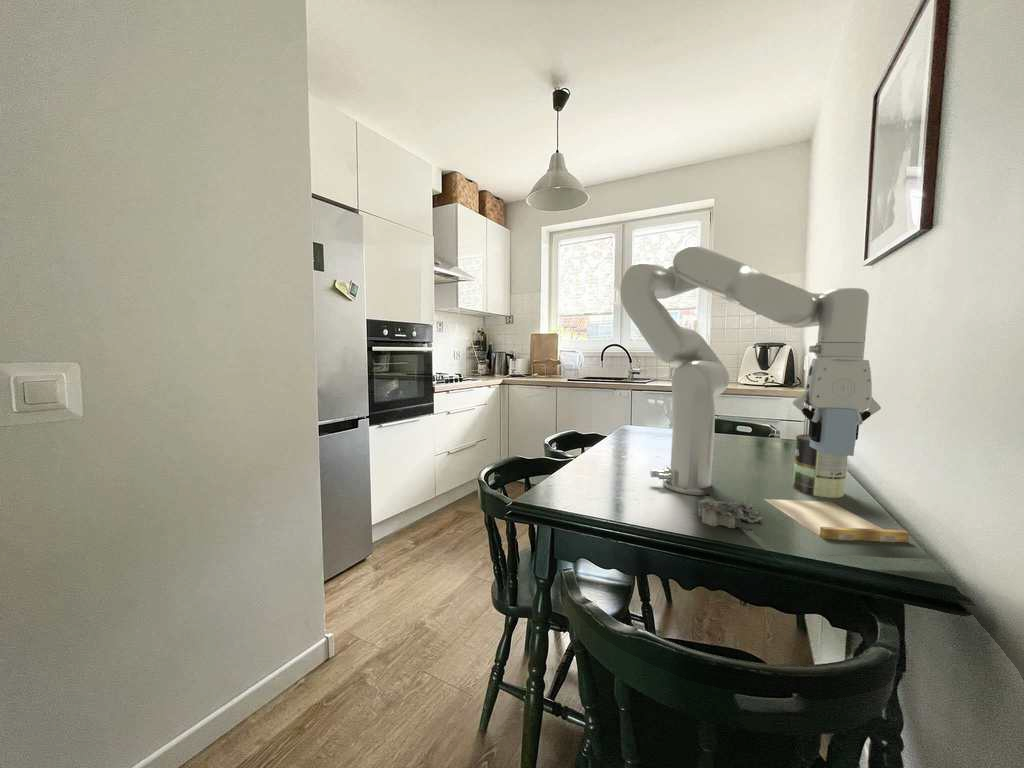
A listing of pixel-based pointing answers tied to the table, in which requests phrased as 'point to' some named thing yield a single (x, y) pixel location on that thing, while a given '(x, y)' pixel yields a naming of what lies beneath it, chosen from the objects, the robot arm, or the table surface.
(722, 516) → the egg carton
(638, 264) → the robot arm
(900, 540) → the shelf
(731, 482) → the table surface
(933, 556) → the table surface
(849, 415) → the carton
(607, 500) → the table surface
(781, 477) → the table surface
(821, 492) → the coffee can
